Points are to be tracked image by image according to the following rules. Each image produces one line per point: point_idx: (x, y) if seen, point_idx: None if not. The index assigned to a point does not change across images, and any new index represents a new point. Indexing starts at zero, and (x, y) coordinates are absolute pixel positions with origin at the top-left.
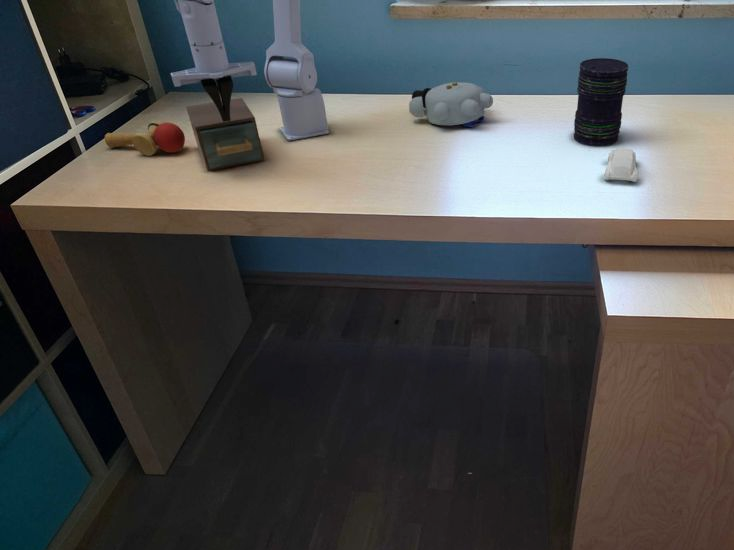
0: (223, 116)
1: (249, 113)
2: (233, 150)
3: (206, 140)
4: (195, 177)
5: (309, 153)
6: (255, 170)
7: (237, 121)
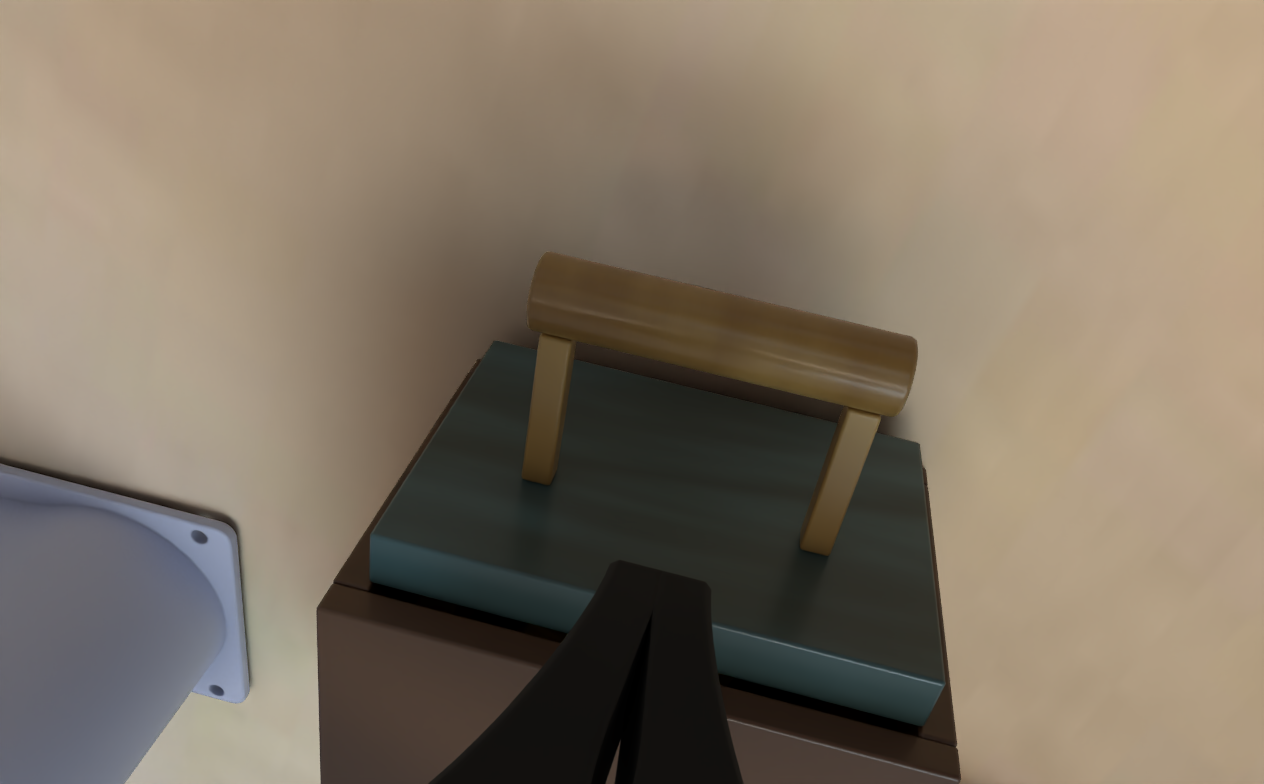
0: (687, 621)
1: (342, 712)
2: (748, 300)
3: (900, 605)
4: (1065, 430)
5: (130, 244)
6: (606, 230)
7: (507, 646)
